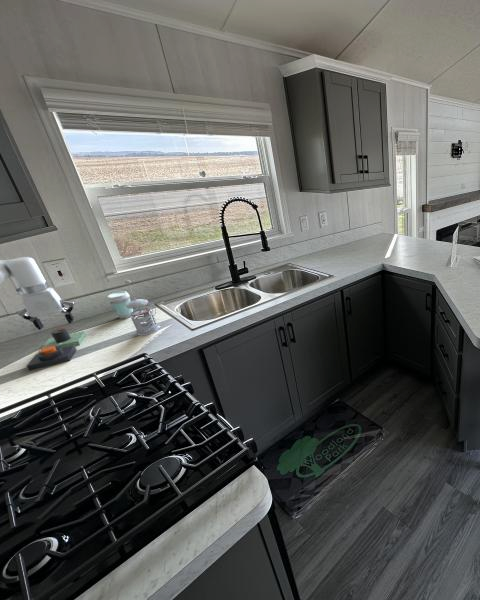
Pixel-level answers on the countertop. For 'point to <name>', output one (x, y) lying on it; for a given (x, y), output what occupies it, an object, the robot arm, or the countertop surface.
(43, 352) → the button
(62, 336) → the temp dial
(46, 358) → the kettle base
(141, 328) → the french press
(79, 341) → the dial panel
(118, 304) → the coffee cup
